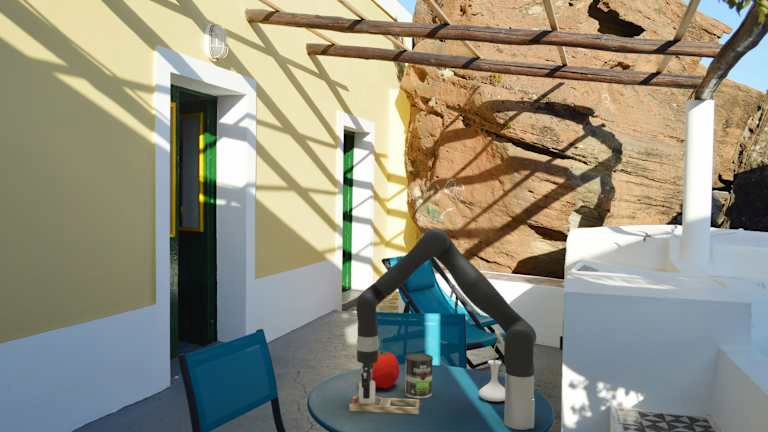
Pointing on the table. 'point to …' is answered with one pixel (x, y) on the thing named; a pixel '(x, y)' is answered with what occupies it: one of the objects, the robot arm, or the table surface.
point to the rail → (386, 405)
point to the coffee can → (418, 375)
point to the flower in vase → (494, 379)
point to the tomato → (385, 370)
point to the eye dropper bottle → (372, 394)
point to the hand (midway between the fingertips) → (367, 395)
